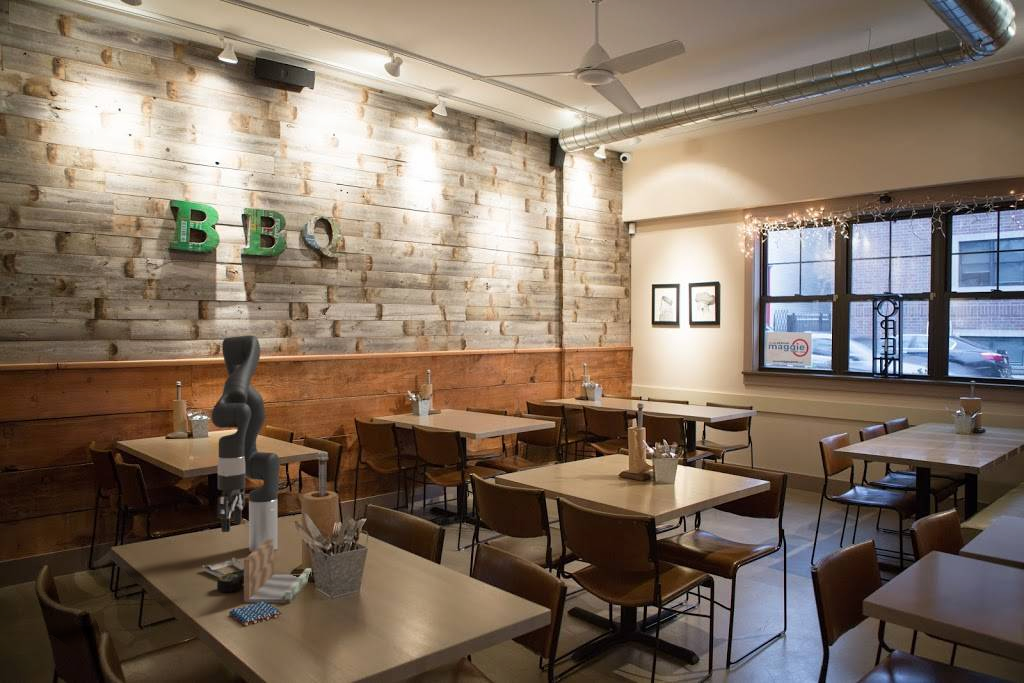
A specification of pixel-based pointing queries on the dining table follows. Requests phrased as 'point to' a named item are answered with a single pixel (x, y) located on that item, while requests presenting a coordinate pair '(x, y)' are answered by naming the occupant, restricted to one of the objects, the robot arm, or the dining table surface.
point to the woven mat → (255, 613)
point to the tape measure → (230, 582)
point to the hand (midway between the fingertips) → (231, 527)
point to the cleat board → (269, 578)
